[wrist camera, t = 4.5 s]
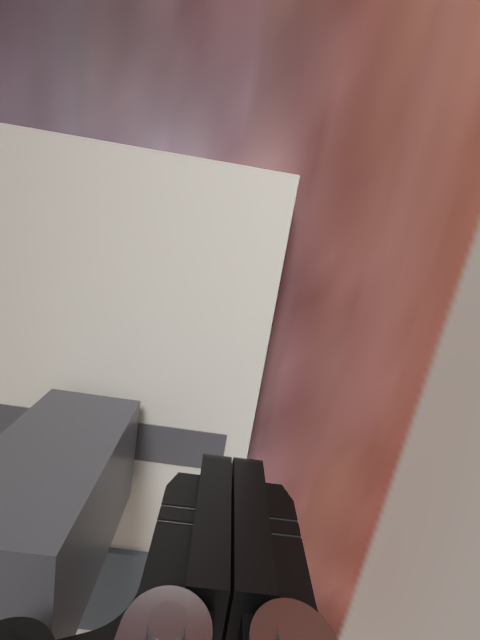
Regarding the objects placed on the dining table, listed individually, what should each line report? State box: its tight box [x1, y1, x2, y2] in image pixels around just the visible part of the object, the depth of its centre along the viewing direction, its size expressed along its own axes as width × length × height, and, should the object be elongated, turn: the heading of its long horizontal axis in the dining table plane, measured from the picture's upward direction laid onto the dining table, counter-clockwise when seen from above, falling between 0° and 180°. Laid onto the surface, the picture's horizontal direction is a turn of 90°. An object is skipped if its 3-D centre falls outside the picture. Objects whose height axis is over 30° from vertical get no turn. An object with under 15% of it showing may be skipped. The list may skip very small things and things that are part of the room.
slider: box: [0, 389, 141, 640], centre depth 8 cm, size 3×2×5 cm
